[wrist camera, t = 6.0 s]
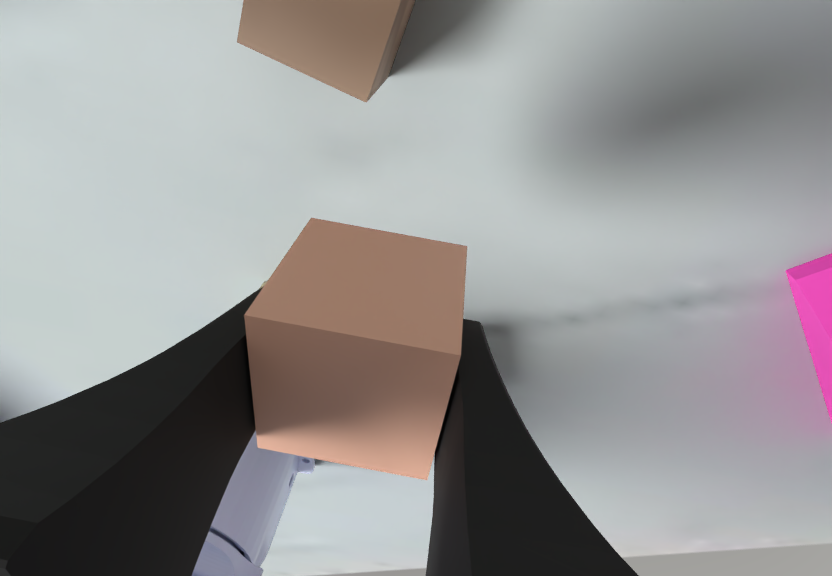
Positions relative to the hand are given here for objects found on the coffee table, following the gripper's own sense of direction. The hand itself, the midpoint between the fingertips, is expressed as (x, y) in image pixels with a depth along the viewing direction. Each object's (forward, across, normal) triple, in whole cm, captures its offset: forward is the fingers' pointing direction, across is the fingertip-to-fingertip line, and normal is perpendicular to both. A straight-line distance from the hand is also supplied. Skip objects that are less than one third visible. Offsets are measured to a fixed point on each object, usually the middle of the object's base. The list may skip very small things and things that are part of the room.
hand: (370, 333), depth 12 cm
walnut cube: (+10, +3, -6) cm, 12 cm away
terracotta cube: (+2, 0, 0) cm, 2 cm away
